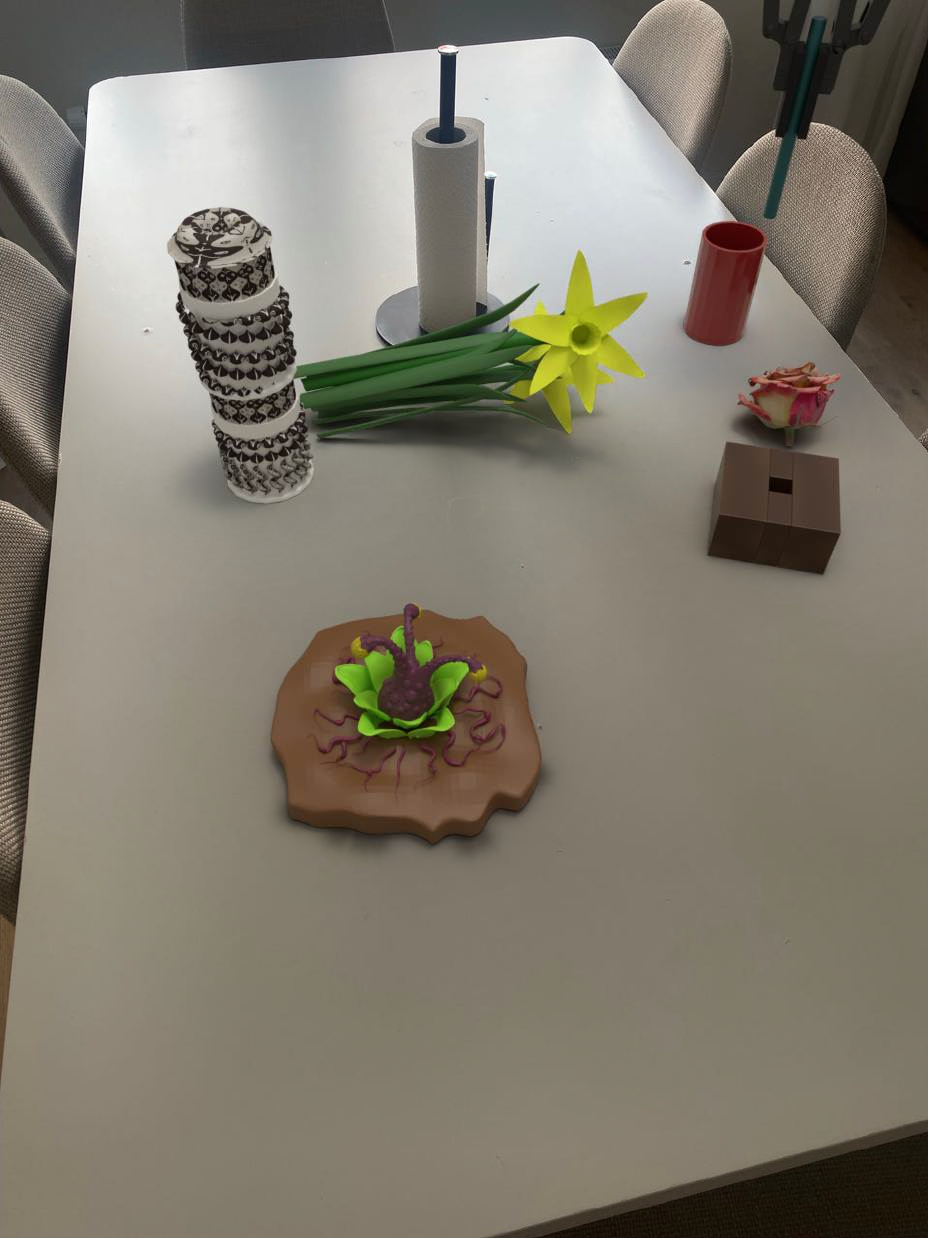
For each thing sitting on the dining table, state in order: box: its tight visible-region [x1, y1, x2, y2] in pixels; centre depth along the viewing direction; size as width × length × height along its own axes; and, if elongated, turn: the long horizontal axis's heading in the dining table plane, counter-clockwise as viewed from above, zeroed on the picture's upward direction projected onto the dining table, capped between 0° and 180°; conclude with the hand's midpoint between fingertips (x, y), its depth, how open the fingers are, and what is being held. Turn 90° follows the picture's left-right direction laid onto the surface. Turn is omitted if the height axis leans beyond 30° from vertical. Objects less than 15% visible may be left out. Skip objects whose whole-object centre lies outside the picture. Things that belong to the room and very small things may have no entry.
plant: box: [270, 602, 542, 845], centre depth 65 cm, size 20×20×11 cm
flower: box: [736, 361, 842, 447], centre depth 90 cm, size 10×9×8 cm
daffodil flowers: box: [293, 249, 649, 439], centre depth 88 cm, size 17×15×35 cm
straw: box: [762, 15, 828, 220], centre depth 78 cm, size 1×1×16 cm
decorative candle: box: [166, 206, 315, 505], centre depth 79 cm, size 9×9×25 cm
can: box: [683, 220, 769, 346], centre depth 101 cm, size 7×7×11 cm
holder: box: [707, 441, 842, 575], centre depth 82 cm, size 10×10×5 cm
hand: (790, 131), depth 79 cm, fingers closed on straw
